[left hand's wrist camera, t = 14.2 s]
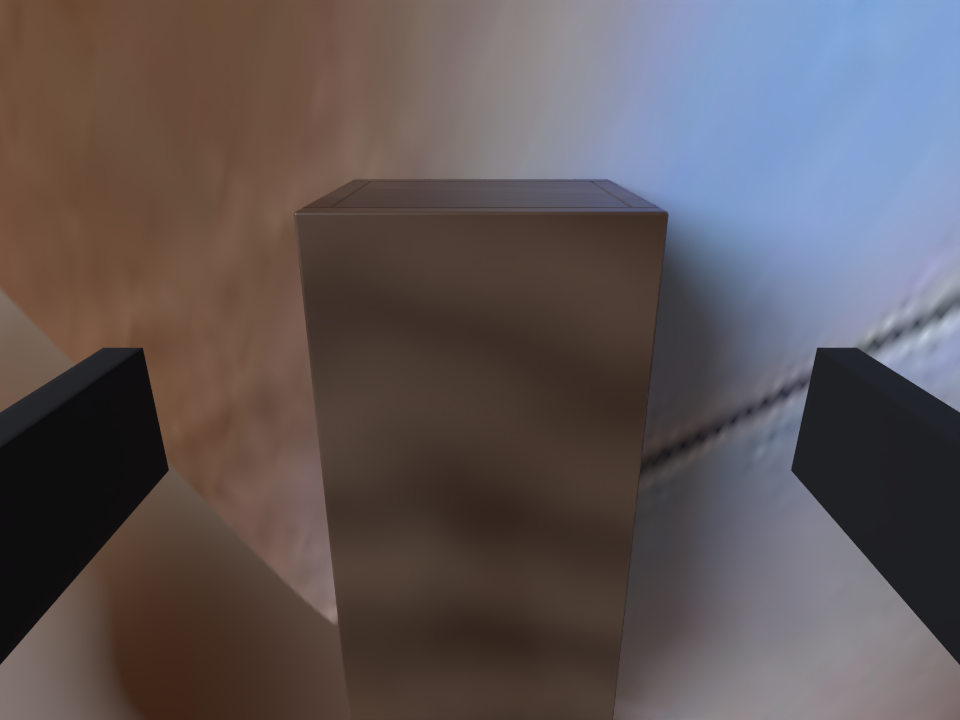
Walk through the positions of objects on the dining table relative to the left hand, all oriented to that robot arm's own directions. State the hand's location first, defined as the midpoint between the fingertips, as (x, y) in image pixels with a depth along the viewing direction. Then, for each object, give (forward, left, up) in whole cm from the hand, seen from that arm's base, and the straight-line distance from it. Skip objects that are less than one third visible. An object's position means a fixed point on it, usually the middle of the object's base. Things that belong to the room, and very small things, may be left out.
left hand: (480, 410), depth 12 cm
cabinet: (0, +7, -14) cm, 16 cm away
